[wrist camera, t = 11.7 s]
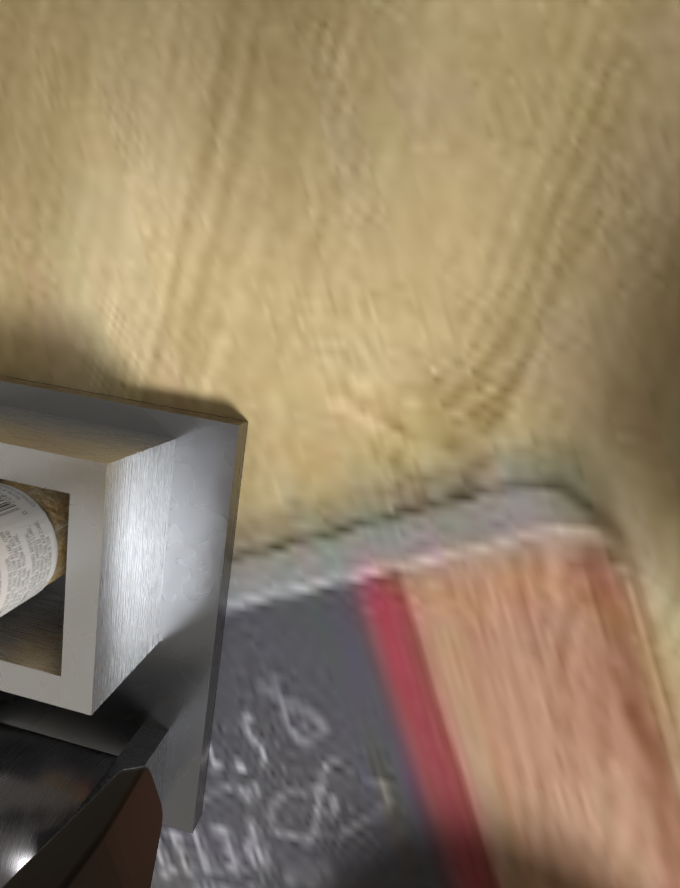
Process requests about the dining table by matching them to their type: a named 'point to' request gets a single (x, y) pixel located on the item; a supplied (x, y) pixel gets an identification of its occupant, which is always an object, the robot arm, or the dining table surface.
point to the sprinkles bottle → (30, 540)
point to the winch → (114, 606)
